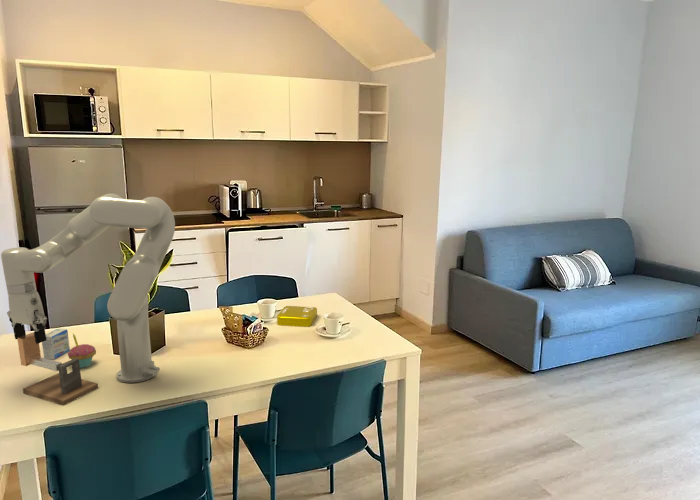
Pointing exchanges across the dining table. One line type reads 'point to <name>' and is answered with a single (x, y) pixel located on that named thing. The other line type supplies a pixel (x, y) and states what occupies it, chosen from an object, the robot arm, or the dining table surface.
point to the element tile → (297, 316)
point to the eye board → (55, 390)
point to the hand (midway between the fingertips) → (30, 339)
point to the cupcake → (82, 353)
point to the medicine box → (56, 344)
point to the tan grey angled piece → (34, 353)
